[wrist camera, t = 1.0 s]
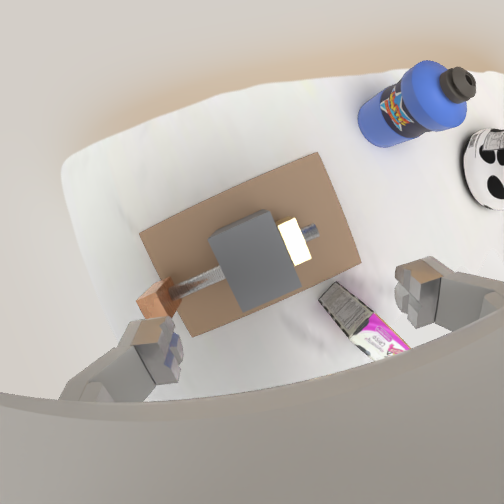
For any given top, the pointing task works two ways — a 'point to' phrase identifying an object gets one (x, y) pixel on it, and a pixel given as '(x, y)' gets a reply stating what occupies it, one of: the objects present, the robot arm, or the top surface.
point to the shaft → (189, 286)
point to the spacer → (293, 240)
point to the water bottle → (417, 104)
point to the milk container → (486, 167)
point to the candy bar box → (361, 324)
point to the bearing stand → (252, 244)
